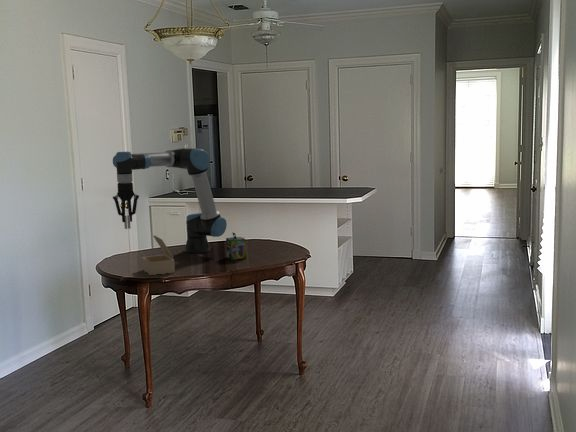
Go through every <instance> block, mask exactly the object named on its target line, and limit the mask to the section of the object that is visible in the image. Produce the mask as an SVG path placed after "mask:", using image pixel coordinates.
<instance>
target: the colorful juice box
mask: <svg viewBox="0 0 576 432" xmlns="http://www.w3.org/2000/svg"><path fill="white" fill-rule="evenodd" d="M225 243H226V245H225V246H226V257H227V258H228V259H229V260H231V261H235V260H236V261H237V260H242V259H247V248H246V247H247V246H246V245H247V243H246V238H245V237H242V236H236V233H235V232H233V231H232V236H231V237H226V238H225Z"/></svg>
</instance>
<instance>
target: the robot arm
mask: <svg viewBox="0 0 576 432" xmlns="http://www.w3.org/2000/svg"><path fill="white" fill-rule="evenodd" d="M210 158H211V157H210V155H209V153H208V152H207V151H206V150H204V149H202V148H197V147H195V148H184V147H183V148H178V149H171V150H166V151H163V152H145V153H143V152H142V153H141V152H140V153H132V152H131V151H117V152H116V153H115V155H114V156H113V157H112V164H113V167H114V168H116V178H117V179H116V182H117V193H116V195H115V196H114V195H113V196H112V199H113V201H114V204H115V207H116V211H117V215H119V216H121V222H122V223H123V225H124V229H125V230H128V229H130V230H131V223H132V222H133V216H134V215H136V212H137V205H138V204H137V203H138V199H139V197H140V196H139V194H136V193H135V192H134V183H133V179H134V178H133V170H145V169H146V170H147V169H149V168H153V167H166V168H176V169H182V170H187V174H188V176H191V179H192V182H193V186H194V189H195V192H196V197H197V201H198V204H199V208H200V211H201V212H197V213H191V214H188V215H186V222H185V225H186V235H187V236H186V242H185V247H184V253H186V254H205V253H208V252H210V251H211V247H210V244H209V241H208V238H207V237H213V238H215V237H216V238H219V237H221V236H223V235H224V234H225V233H226V229H227V226H228V225H227V224H228V223H227V220H226V219H225V218H224V217H222V216H221V214H220V211H219V210H217V207H216V204H215V200H214V195H213V193H212V188H211V185H210V182H209V178H208V177H209V176H208V174H207V172H208V171H209V167H210V163H211V159H210ZM119 199H120V201H121V205H120V203H119ZM132 199H133V203H132V201H131V200H132ZM126 202H127V212H128V214H127V215H126Z"/></svg>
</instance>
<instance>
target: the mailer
mask: <svg viewBox="0 0 576 432" xmlns="http://www.w3.org/2000/svg"><path fill="white" fill-rule="evenodd" d="M141 258H142V259H141V260H142V262H141V263H142V271H143V270H144V271H143V272H145V273H146V272H147V273H148V274H147V273H146V274H147V275H148V276H150V275H154V276H157V275H156V274H162V275H167V274H166V273H169V274H175V273H176V270H175V269H176V266H175V258H174V257H173V258H172V257H170V256H168V255H167V254H158V255H151V256H142V257H141Z"/></svg>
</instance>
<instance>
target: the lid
mask: <svg viewBox="0 0 576 432" xmlns="http://www.w3.org/2000/svg"><path fill="white" fill-rule="evenodd" d="M153 238H154V240H155V241H156V243H157V244H158V245H159V247H160V249H161V250H162V252H163V253H164V255H168V256H169V257H171V258H173V259H174V255H173V254H172V253H171V251H170V249H169V248H168V247H167V245H166V243H165V242H164V240H163V239H162V238H160V237H158V236H157V235H155V234H154V235H153Z"/></svg>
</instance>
